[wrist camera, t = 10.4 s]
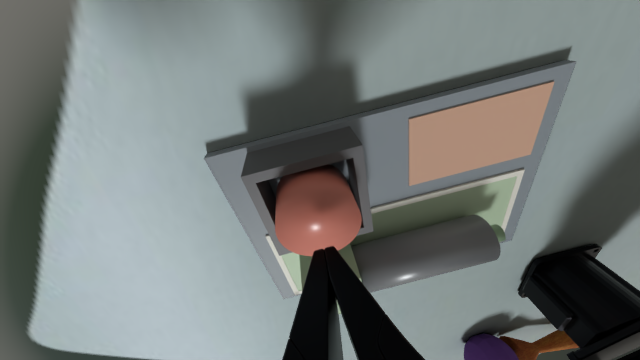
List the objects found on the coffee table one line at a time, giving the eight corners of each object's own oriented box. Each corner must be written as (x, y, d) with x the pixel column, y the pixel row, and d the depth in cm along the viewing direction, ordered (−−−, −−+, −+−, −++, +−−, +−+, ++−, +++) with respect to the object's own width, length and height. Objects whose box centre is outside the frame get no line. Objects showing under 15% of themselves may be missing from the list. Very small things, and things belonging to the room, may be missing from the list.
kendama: (600, 359, 33) (476, 401, 30) (560, 313, 37) (447, 345, 34) (641, 349, 29) (501, 397, 26) (591, 299, 33) (466, 334, 30)
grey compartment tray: (565, 59, 13) (633, 68, 10) (506, 234, 21) (537, 263, 18) (206, 153, 13) (189, 184, 10) (283, 292, 21) (283, 329, 18)
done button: (342, 153, 12) (355, 181, 10) (352, 211, 14) (365, 244, 12) (265, 173, 12) (262, 205, 10) (288, 227, 14) (289, 264, 12)
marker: (486, 200, 17) (527, 235, 14) (478, 232, 19) (513, 269, 16) (298, 248, 17) (302, 293, 14) (309, 276, 19) (315, 320, 16)
